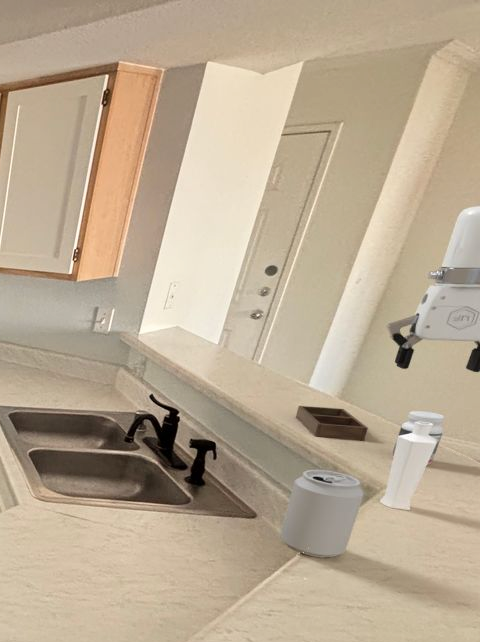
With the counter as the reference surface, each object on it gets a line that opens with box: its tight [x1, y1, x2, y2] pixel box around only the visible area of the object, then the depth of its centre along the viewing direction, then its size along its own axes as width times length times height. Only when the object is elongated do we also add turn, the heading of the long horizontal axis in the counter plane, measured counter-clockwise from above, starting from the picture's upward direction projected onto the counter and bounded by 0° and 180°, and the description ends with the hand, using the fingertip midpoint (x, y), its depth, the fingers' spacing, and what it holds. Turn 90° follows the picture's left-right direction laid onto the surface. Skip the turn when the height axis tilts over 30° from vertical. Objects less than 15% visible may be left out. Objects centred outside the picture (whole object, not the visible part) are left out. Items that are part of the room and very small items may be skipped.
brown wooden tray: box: [295, 405, 369, 441], centre depth 139 cm, size 8×16×3 cm, turn 151°
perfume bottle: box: [379, 421, 437, 511], centre depth 99 cm, size 5×4×15 cm
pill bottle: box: [391, 410, 445, 465], centre depth 117 cm, size 6×6×10 cm
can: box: [279, 469, 365, 559], centre depth 88 cm, size 8×8×12 cm
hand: (436, 369), depth 113 cm, fingers open, 9 cm apart
